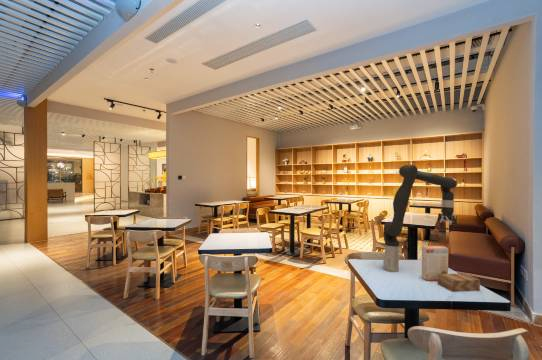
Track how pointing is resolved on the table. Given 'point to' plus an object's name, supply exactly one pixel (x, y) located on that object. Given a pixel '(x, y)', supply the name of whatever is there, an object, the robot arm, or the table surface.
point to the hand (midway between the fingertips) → (446, 229)
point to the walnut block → (458, 282)
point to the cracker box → (434, 262)
